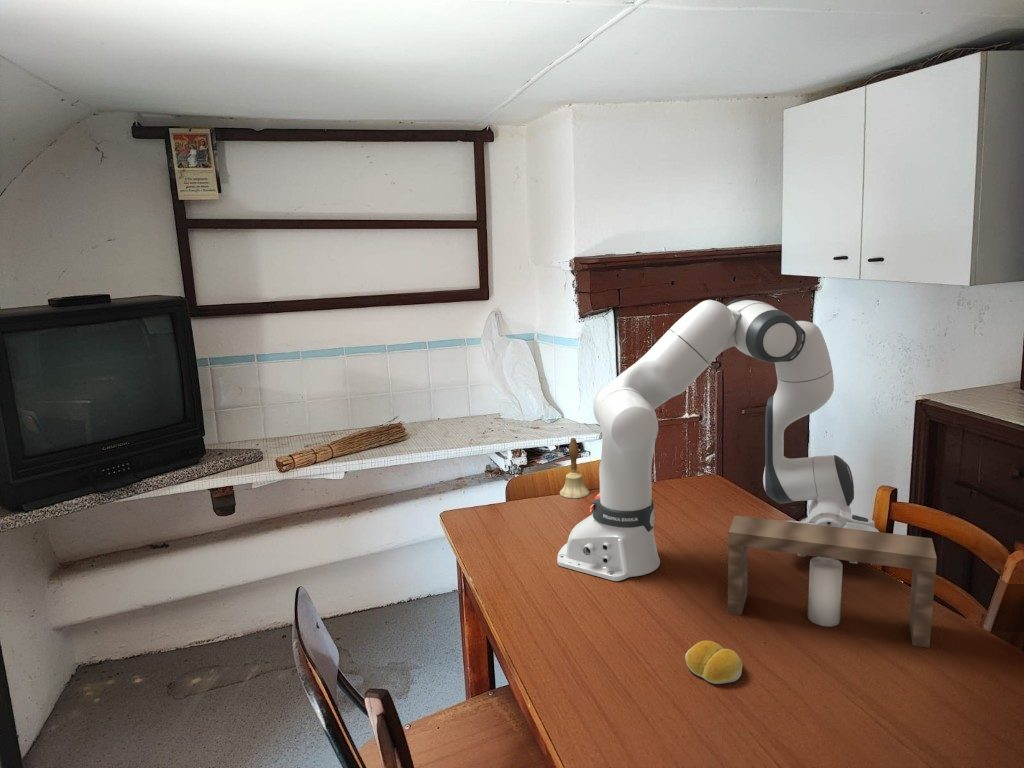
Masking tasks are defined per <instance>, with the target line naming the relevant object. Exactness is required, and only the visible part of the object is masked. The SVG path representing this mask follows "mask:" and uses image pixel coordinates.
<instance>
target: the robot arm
mask: <svg viewBox="0 0 1024 768" xmlns="http://www.w3.org/2000/svg"><path fill="white" fill-rule="evenodd" d="M734 347H735V348H736V349H737V350H738V351H739V352H741V353H743V354H745V355H746V356H748V357H752V358H754V359H755V360H757V361H760V362H764V363H774V365H775V366H774V367H775V374H776V378H777V386H776V390H775V392H774V394H772V395H771V396H770V397H769V398H767V402H766V407H765V421H764V422H765V426H764V427H765V429H764V434H765V435H764V442H765V443H764V445H765V446H764V451H765V453H764V455H765V459H764V461H765V462H764V463H765V464H764V465H765V466H764V471H763V476H762V483H763V488H764V491H765V494H766V495H767V497H768V498H770V499H771V500H773V501H774V502H776V503H778V504H779V505H782V504H787V503H795V502H801V501H802V502H803V501H810V505H809V508H808V516H807V522H806V521H797V520H787V521H788V522H796V523H805V524H814V525H822V526H831V527H839V528H848V529H856V530H865V531H874V532H880V531H879V530H878V528H876V525H875V524H876V523H875V520H873V519H871V518H868V517H864V516H859V515H857V514H853V513H852V508H851V504H852V503H853V501H854V499H855V486H854V485H855V484H854V478H853V474H852V471H851V468H850V465H849V463H847V462H846V461H845V460H844V459H842V457H840V456H838V455H836V454H831V455H830V454H829V455H828V454H827V455H818V456H810V457H809V456H808V457H797V458H790V457H789V458H788V457H786V456H784V448H785V447H784V443H785V442H784V441H785V438H784V437H785V436H784V435H785V430H786V429H787V427H788V426H790V425H791V424H792V423H794V422H796V421H797V420H799V419H801V418H803V417H806V416H808V415H810V414H812V413H815V412H816V411H818V410H820V409H821V408H822V407H823V406H825V405H826V404H827V403H828V402H829V400H830V399H831V397H832V395H833V393H834V390H835V389H834V388H835V384H834V382H835V381H834V372H833V366H832V360H831V357H830V353H829V352H830V351H829V349H828V346H827V342H826V341H825V338H824V335H823V333H822V330H821V329H820V328H819V326H818V325H817V324H815V323H814V322H811V321H807V320H796V319H794V318H793V317H792V316H791V315H790V314H788V313H787V312H785V311H783V310H780V309H777V307H775V306H773V305H771V304H769V303H767V302H764V301H760V300H759V301H758V300H755V299H753V298H746V297H744V298H739V299H734V300H732V301H729V302H727V303H725V304H724V303H722V302H720V301H717V300H713V299H707V300H703V301H701V302H699V303H698V304H696V305H695V306H694V307H692V308H691V309H690V310H689V311H687V312H686V313H685V314H684V315H682V317H680V318H679V319H678V320H677V321H676V322H675V323H674V324H673V325H672V326H671V327H670V328H668V330H667V331H666V332H665V333H664V334H663V335H662V336H661V337H660V338H659V339H658V340H657V341H656V342H655V343H654V345H653V346H651V347H650V349H648V351H646V353H645V354H644V355H643V356H641V357H640V358H639V359H638V360H637V361H636V362H635V363H633V364H632V365H631V366H629V367H628V368H627V369H625V370H624V371H622V372H621V373H620V374H619V375H617V377H616V378H614V379H613V380H612V381H611V382H608V383H607V384H605V385H603V386H602V387H601V388H599V390H598V391H597V392H596V394H595V397H594V401H593V407H592V409H593V414H594V418H595V419H596V421H597V423H598V425H599V426H600V431H601V438H602V441H601V442H602V443H601V457H600V463H599V467H598V473H599V475H598V476H599V478H598V479H599V493H597V494H596V496H595V497H594V500H593V501H592V503H591V505H590V507H589V513H590V514H591V515H589V516H587V517H586V518H583V520H581V521H580V522H578V523H577V524H576V525H575V526H574V527H573V528H572V530H571V531H570V532H569V536H568V539H567V543H565V544H564V545H562V547H561V548H560V550H559V551H558V553H557V557H556V560H557V561H556V562H557V565H558V566H560V567H562V568H566V569H570V570H573V571H577V572H580V573H585V574H587V575H591V576H596V577H598V578H602V579H606V580H609V581H613V582H620V581H623V580H626V579H628V578H632V577H633V578H634V577H639V576H644V575H647V574H650V573H653V572H654V571H656V570H657V569H658V568H659V566H660V564H661V559H660V556H659V554H658V553H659V552H658V549H657V545H656V539H655V533H654V527H655V521H656V520H655V505H654V500H653V498H652V495H653V494H652V491H653V490H652V465H653V459H654V454H655V453H654V452H655V447H656V446H655V445H656V440H657V439H656V438H657V437H658V433H659V423H658V421H659V420H658V417H657V413H656V411H655V410H656V409H657V408H658V407H659V408H660V406H662V405H663V404H664V403H666V402H667V401H669V400H670V399H673V398H674V397H676V396H679V395H682V394H683V393H684V392H685V391H686V390H687V389H688V387H690V386H691V385H692V384H693V382H695V380H697V378H699V376H700V375H701V374H702V373H703V372H704V371H705V370H706V369H707V368H708V367H709V366H710V365H711V364H712V363H713V361H714V360H715V359H716V358H717V357H718V356H719V355H720V354H722V352H725V350H728V349H730V348H734ZM797 557H802V558H803V557H804V558H806V555H803V554H797ZM848 562H849V564H856V565H857V564H858V562H855V561H848Z"/></svg>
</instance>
